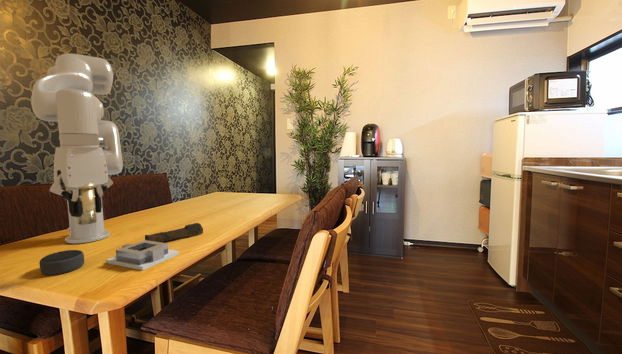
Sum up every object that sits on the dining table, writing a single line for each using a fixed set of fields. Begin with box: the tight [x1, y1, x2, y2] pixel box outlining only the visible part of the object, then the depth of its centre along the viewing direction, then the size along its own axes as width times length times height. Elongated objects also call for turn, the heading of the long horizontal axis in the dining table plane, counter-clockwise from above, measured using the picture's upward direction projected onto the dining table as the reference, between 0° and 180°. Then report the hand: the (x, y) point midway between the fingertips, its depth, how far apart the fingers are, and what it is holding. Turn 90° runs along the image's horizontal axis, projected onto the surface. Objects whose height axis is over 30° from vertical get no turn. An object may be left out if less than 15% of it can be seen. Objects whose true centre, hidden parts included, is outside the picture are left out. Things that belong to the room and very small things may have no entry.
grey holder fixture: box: [115, 239, 169, 265], centre depth 81 cm, size 14×9×3 cm, turn 69°
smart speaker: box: [38, 249, 85, 276], centre depth 76 cm, size 9×9×4 cm
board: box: [105, 248, 180, 271], centre depth 82 cm, size 14×12×1 cm
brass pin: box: [77, 184, 97, 225], centre depth 73 cm, size 5×5×10 cm
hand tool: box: [144, 222, 204, 243], centre depth 99 cm, size 19×4×5 cm, turn 132°
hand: (86, 213), depth 73 cm, fingers closed on brass pin, 4 cm apart
